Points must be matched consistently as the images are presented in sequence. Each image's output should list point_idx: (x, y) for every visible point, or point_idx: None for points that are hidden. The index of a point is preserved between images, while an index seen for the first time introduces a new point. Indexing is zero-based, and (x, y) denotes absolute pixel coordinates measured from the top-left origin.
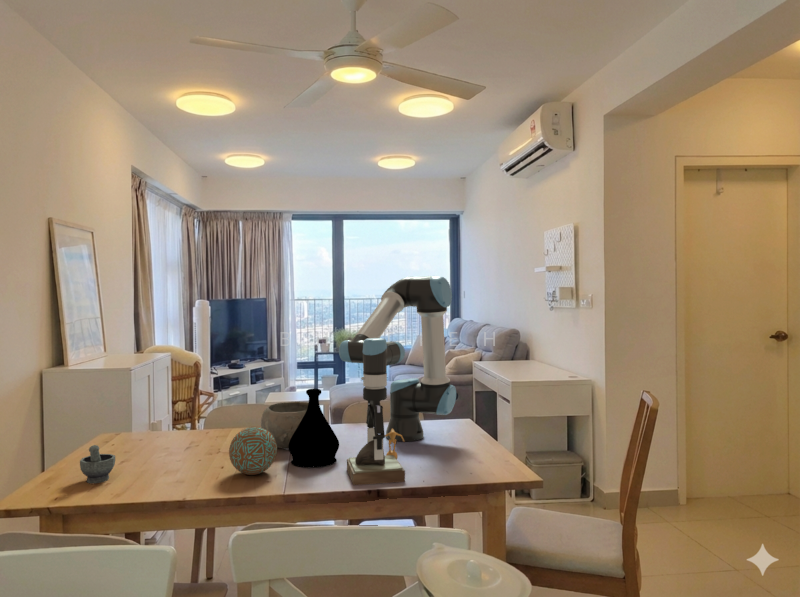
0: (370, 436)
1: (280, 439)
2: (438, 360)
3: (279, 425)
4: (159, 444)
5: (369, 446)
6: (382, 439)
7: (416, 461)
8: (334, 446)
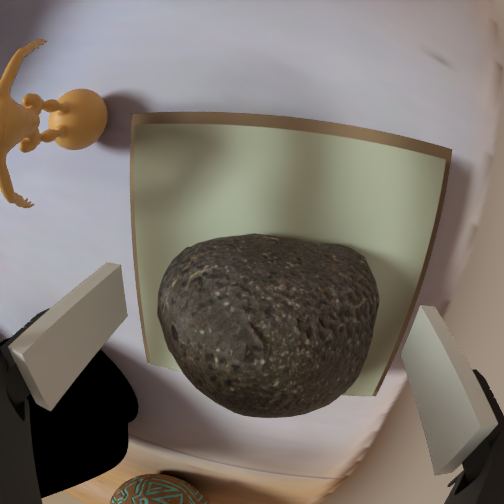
0: (79, 348)
1: None
2: None
3: None
4: None
5: (307, 410)
6: (489, 421)
7: (120, 5)
8: (71, 391)
